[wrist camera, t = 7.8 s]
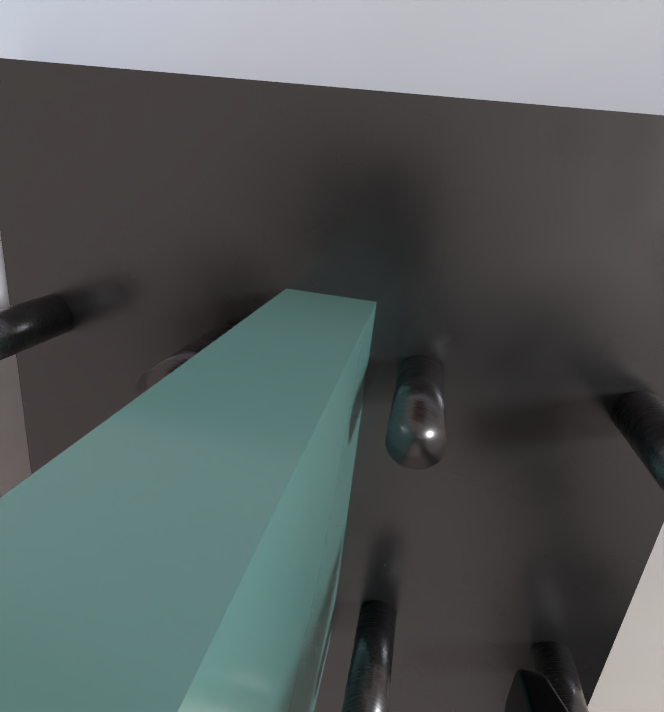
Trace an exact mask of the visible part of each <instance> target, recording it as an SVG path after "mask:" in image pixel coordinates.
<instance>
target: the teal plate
mask: <svg viewBox="0 0 664 712" xmlns="http://www.w3.org/2000/svg"><path fill="white" fill-rule="evenodd" d="M376 303H377V302H374V301H367V300H361V299H354V298H347V297H340V296H334V295H327V294H320V293H313V292H307V291H300V290H293V289H285V290H283V291H282V292H281V293H279V294H278V295H277V296H275V297H274V298H273V299H271V300H270V301H268V302H267V303H266V304H264V305H263V306H262V307H260V308H259V309H257V310H256V311H255V312H253V313H252V314H251V315H249V316H248V317H247V318H245V319H244V320H242V321H241V322H240V323H238V324H237V325H236V326H234V327H233V328H232V329H230V330H229V331H227V332H226V333H225V334H223V335H222V336H221V337H219V338H218V339H216V340H215V341H214V342H212V343H211V344H210V345H208V346H207V347H206V348H204V349H203V350H201V351H200V352H199V353H197V354H196V355H195V356H193V357H192V358H190V359H189V360H188V361H186V362H185V363H184V364H182V365H181V366H180V367H178V368H177V369H175V370H174V371H173V372H171V373H170V374H169V375H167V376H166V377H164V378H163V379H162V380H160V381H159V382H158V383H156V384H155V385H154V386H152V387H151V388H149V389H148V390H147V391H145V392H144V393H143V394H141V395H140V396H138V397H137V398H136V399H134V400H133V401H132V402H130V403H129V404H128V405H126V406H125V407H123V408H122V409H121V410H119V411H118V412H117V413H115V414H114V415H112V416H111V417H110V418H108V419H107V420H106V421H104V422H103V423H102V424H100V425H99V426H97V427H96V428H95V429H93V430H92V431H91V432H89V433H88V434H86V435H85V436H84V437H82V438H81V439H80V440H78V441H77V442H76V443H74V444H73V445H71V446H70V447H69V448H67V449H66V450H65V451H63V452H62V453H60V454H59V455H58V456H56V457H55V458H54V459H52V460H51V461H50V462H48V463H47V464H45V465H44V466H43V467H41V468H40V469H39V470H37V471H36V472H34V473H33V474H32V475H30V476H29V477H28V478H26V479H25V480H24V481H22V482H21V483H19V484H18V485H17V486H15V487H14V488H13V489H11V490H10V491H9V492H7V493H6V494H4V495H3V496H2V497H0V712H314V709H315V705H316V700H317V696H318V692H319V687H320V683H321V679H322V674H323V670H324V666H325V661H326V657H327V653H328V648H329V644H330V637H331V629H332V622H333V615H334V608H335V600H336V593H337V586H338V579H339V571H340V564H341V557H342V550H343V542H344V535H345V528H346V520H347V513H348V506H349V499H350V491H351V484H352V477H353V470H354V462H355V455H356V448H357V441H358V433H359V426H360V419H361V412H362V404H363V397H364V390H365V383H366V375H367V368H368V361H369V353H370V346H371V339H372V332H373V324H374V317H375V310H376Z"/></svg>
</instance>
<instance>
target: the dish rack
mask: <svg viewBox="0 0 664 712" xmlns="http://www.w3.org/2000/svg"><path fill="white" fill-rule="evenodd" d="M0 231H1V238H2V246H3V254H4V262H5V270H6V277H7V285H8V293H9V301H10V307H6V308H3V309H0V360H2V359H5V358H7V357H9V356H12V355H14V354H16V355H17V363H18V371H19V379H20V387H21V394H22V402H23V410H24V418H25V426H26V433H27V441H28V449H29V457H30V465H31V473H32V474H33V473H34V472H36V471H37V470H39V469H40V468H41V467H43V466H44V465H45V464H47V463H48V462H50V461H51V460H52V459H54V458H55V457H56V456H58V455H59V454H60V453H62V452H63V451H65V450H66V449H67V448H69V447H70V446H71V445H73V444H74V443H76V442H77V441H78V440H80V439H81V438H82V437H84V436H85V435H86V434H88V433H89V432H91V431H92V430H93V429H95V428H96V427H97V426H99V425H100V424H102V423H103V422H104V421H106V420H107V419H108V418H110V417H111V416H112V415H114V414H115V413H117V412H118V411H119V410H121V409H122V408H123V407H125V406H126V405H128V404H129V403H130V402H132V401H133V400H134V399H136V398H137V397H138V396H140V395H141V394H143V393H144V392H145V391H147V390H148V389H149V388H151V387H152V386H154V385H155V384H156V383H158V382H159V381H160V380H162V379H163V378H164V377H166V376H167V375H169V374H170V373H171V372H173V371H174V370H175V369H177V368H178V367H180V366H181V365H182V364H184V363H185V362H186V361H188V360H189V359H190V358H192V357H193V356H195V355H196V354H197V353H199V352H200V351H201V350H203V349H204V348H206V347H207V346H208V345H210V344H211V343H212V342H214V341H215V340H216V339H218V338H219V337H221V336H222V335H223V334H225V333H226V332H227V331H229V330H230V329H232V328H233V327H234V326H236V325H237V324H238V323H240V322H241V321H242V320H244V319H245V318H247V317H248V316H249V315H251V314H252V313H253V312H255V311H256V310H257V309H259V308H260V307H262V306H263V305H264V304H266V303H267V302H268V301H270V300H271V299H273V298H274V297H275V296H277V295H278V294H279V293H281V292H282V291H283V290H285V289H293V290H300V291H307V292H313V293H320V294H327V295H334V296H340V297H347V298H354V299H361V300H367V301H374V302H377V303H376V310H375V317H374V324H373V332H372V339H371V346H370V353H369V361H368V368H367V375H366V383H365V390H364V397H363V404H362V412H361V419H360V426H359V433H358V441H357V448H356V455H355V462H354V470H353V477H352V484H351V491H350V499H349V506H348V513H347V520H346V528H345V535H344V542H343V550H342V557H341V564H340V571H339V579H338V586H337V593H336V600H335V608H334V615H333V622H332V629H331V637H330V644H329V648H328V653H327V657H326V661H325V666H324V670H323V674H322V679H321V683H320V687H319V692H318V696H317V700H316V705H315V709H314V712H505V705H506V700H507V697H508V694H509V691H510V688H511V685H512V682H513V678H514V675H515V673H516V671H517V670H518V669H520V668H523V669H527V670H531V671H535V672H539V673H542V674H543V675H544V676H545V677H546V678H547V679H548V680H549V682H550V683H551V685H552V687H553V688H554V690H555V691H556V693H557V694H558V696H559V697H560V699H561V701H562V702H563V704H564V705H565V707H566V708H567V710H568V711H569V712H588V709H587V706H588V704H589V701H590V699H591V697H592V694H593V692H594V689H595V687H596V684H597V682H598V680H599V677H600V675H601V672H602V670H603V668H604V665H605V663H606V660H607V658H608V655H609V653H610V651H611V648H612V646H613V643H614V641H615V639H616V636H617V634H618V631H619V629H620V626H621V624H622V622H623V619H624V617H625V614H626V612H627V609H628V607H629V605H630V602H631V600H632V597H633V595H634V593H635V590H636V588H637V585H638V583H639V580H640V578H641V576H642V573H643V571H644V568H645V566H646V564H647V561H648V559H649V556H650V554H651V551H652V549H653V547H654V544H655V542H656V539H657V537H658V534H659V532H660V530H661V527H662V525H663V522H664V116H662V115H650V114H639V113H627V112H616V111H604V110H593V109H581V108H570V107H558V106H546V105H535V104H523V103H512V102H500V101H489V100H477V99H466V98H454V97H442V96H431V95H419V94H408V93H396V92H385V91H373V90H361V89H350V88H338V87H327V86H315V85H304V84H292V83H281V82H269V81H257V80H246V79H234V78H223V77H211V76H200V75H188V74H176V73H165V72H153V71H142V70H130V69H119V68H107V67H96V66H84V65H72V64H61V63H49V62H38V61H26V60H15V59H3V58H0Z"/></svg>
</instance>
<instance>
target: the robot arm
mask: <svg viewBox="0 0 664 712" xmlns="http://www.w3.org/2000/svg"><path fill="white" fill-rule="evenodd" d="M505 712H569V711H568V710H567V708H566V707H565V705H564V704H563V702H562V701H561V699H560V697H559V696H558V694H557V693H556V691H555V690H554V688H553V687H552V685H551V683H550V682H549V680H548V679H547V678H546V677H545V676H544V675H543V674H542V673H539V672H535V671H531V670H527V669H523V668H520V669H518V670H517V671H516V673H515V675H514V678H513V682H512V685H511V688H510V691H509V694H508V697H507V700H506V705H505Z"/></svg>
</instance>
